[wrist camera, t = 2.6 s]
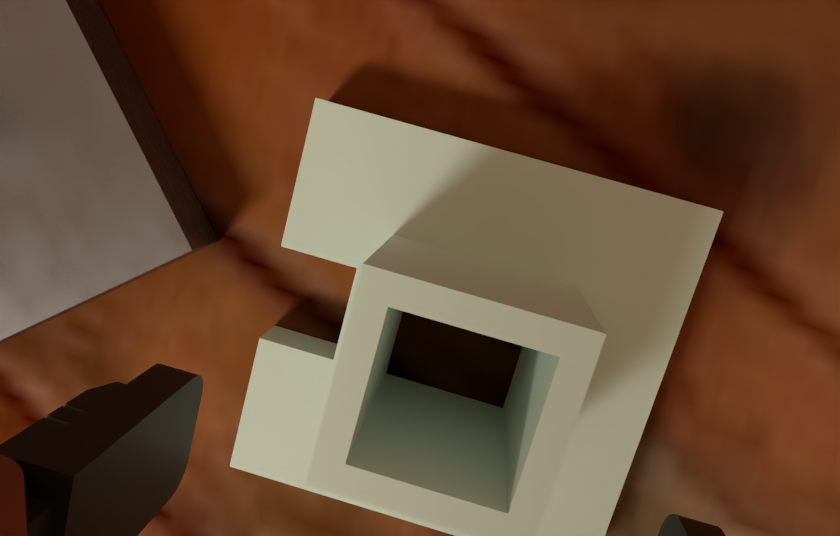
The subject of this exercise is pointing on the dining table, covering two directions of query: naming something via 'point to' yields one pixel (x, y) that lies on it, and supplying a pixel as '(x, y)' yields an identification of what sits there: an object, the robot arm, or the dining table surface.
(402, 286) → the flange plate
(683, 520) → the robot arm
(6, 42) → the post fixture
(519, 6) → the dining table surface
